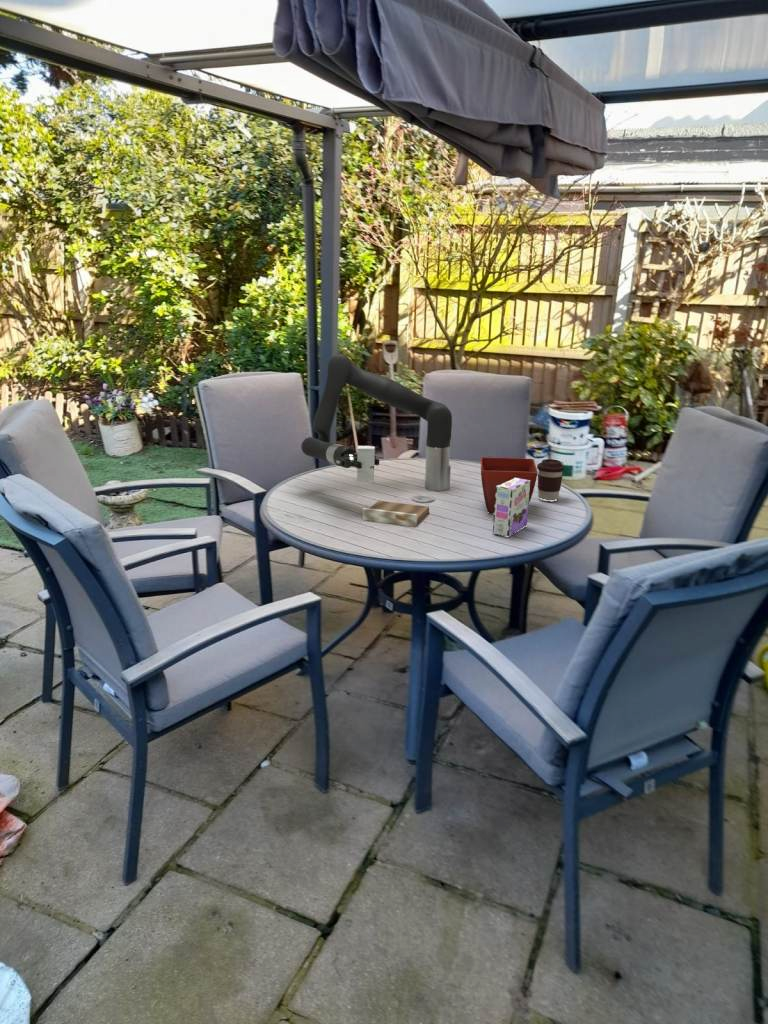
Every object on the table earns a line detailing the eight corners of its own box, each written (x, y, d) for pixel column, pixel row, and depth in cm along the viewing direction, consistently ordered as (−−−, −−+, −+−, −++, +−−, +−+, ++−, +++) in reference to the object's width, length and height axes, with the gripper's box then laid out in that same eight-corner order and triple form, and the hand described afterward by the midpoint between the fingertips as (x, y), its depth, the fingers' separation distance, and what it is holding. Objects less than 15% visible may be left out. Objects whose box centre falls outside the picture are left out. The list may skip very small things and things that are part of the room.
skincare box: (356, 483, 230) (356, 448, 226) (357, 479, 234) (356, 445, 231) (374, 482, 230) (374, 448, 226) (374, 479, 234) (374, 445, 231)
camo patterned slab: (428, 513, 236) (429, 502, 235) (415, 527, 222) (415, 515, 221) (378, 507, 242) (378, 496, 241) (362, 520, 229) (362, 509, 227)
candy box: (508, 538, 213) (511, 488, 208) (491, 534, 216) (495, 485, 211) (527, 527, 223) (531, 479, 218) (511, 523, 227) (515, 476, 222)
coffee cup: (564, 503, 248) (568, 464, 244) (537, 503, 248) (541, 464, 244) (557, 496, 258) (561, 458, 253) (532, 495, 258) (535, 457, 253)
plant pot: (478, 516, 234) (480, 469, 228) (478, 500, 252) (480, 456, 246) (534, 519, 231) (538, 472, 226) (530, 502, 249) (533, 458, 244)
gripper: (324, 447, 235) (353, 456, 223) (356, 442, 244) (386, 450, 232) (324, 468, 237) (353, 478, 225) (357, 463, 246) (386, 471, 234)
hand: (369, 464), depth 229 cm, fingers closed on skincare box, 7 cm apart
